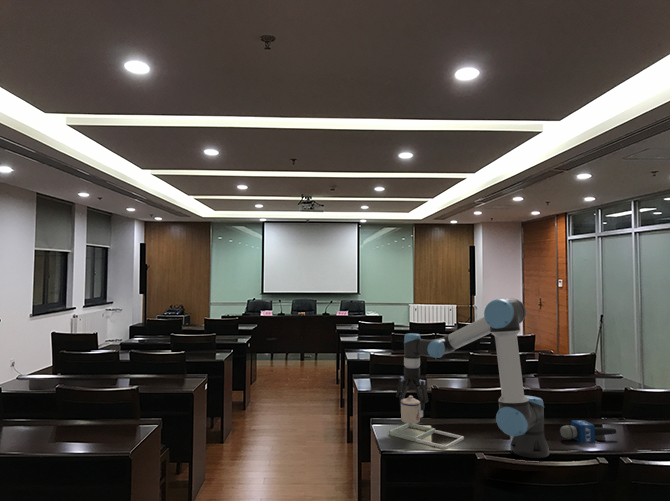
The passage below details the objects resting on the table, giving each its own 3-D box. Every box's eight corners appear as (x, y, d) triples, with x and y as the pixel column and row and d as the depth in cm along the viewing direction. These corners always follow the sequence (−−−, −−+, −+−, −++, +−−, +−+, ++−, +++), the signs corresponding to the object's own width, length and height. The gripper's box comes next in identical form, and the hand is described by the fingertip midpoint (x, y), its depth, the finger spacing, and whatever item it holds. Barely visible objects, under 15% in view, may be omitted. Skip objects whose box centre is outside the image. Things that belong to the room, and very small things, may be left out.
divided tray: (464, 439, 220) (464, 435, 220) (445, 449, 207) (445, 445, 207) (409, 426, 239) (409, 422, 239) (389, 434, 226) (389, 430, 226)
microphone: (620, 424, 217) (566, 425, 216) (620, 442, 217) (566, 443, 215) (609, 419, 225) (557, 420, 224) (609, 436, 225) (557, 437, 223)
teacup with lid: (421, 424, 222) (421, 398, 223) (401, 423, 223) (401, 398, 224) (419, 416, 234) (419, 392, 235) (400, 416, 235) (400, 391, 236)
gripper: (436, 368, 225) (436, 418, 224) (397, 362, 239) (396, 409, 238) (428, 371, 219) (428, 421, 218) (388, 364, 234) (388, 412, 232)
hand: (411, 415), depth 228 cm, fingers closed on teacup with lid, 9 cm apart
